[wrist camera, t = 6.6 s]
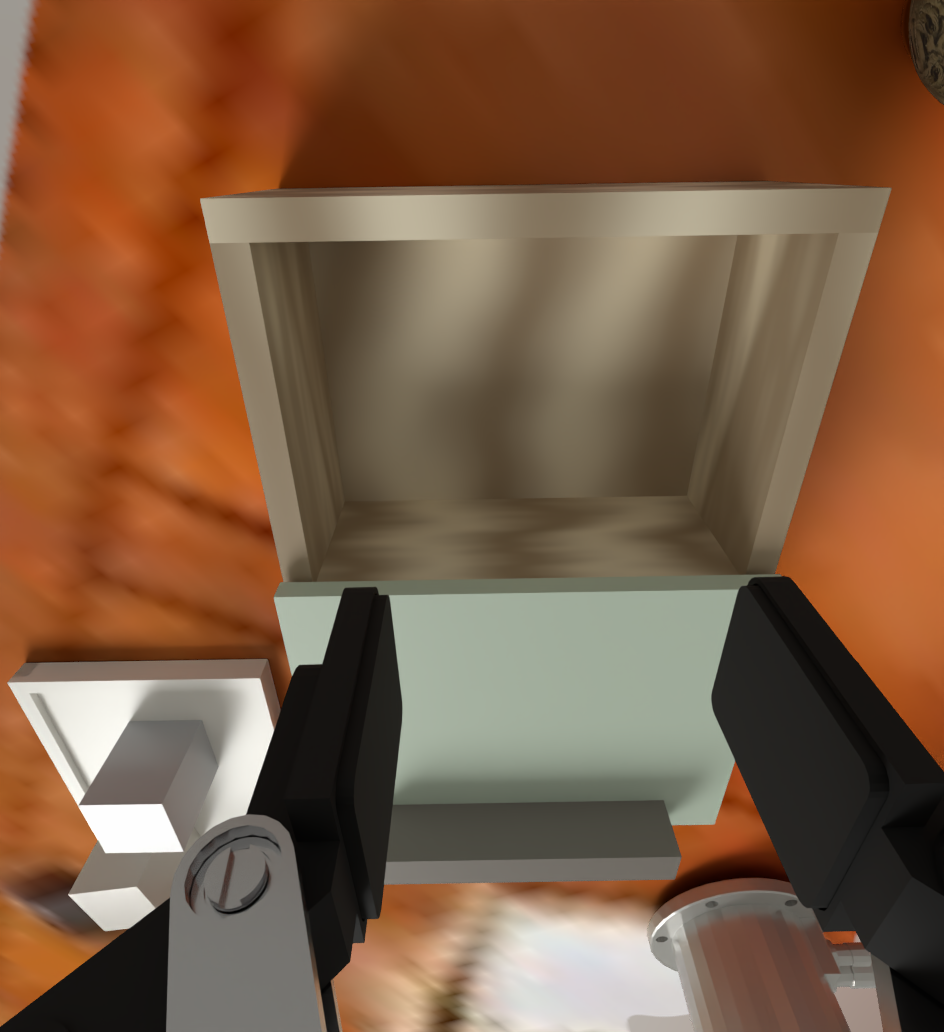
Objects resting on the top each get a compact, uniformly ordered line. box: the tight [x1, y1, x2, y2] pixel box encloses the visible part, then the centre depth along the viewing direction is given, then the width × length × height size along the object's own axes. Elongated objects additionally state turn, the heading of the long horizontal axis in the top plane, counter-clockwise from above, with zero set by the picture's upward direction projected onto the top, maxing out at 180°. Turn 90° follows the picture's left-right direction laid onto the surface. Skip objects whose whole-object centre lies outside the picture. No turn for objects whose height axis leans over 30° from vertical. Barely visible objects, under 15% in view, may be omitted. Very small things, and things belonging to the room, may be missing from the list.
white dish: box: [7, 659, 281, 838], centre depth 36 cm, size 13×17×1 cm
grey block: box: [78, 720, 219, 853], centre depth 32 cm, size 4×4×5 cm
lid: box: [274, 574, 781, 884], centre depth 22 cm, size 17×13×3 cm
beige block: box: [68, 828, 201, 931], centre depth 35 cm, size 4×4×5 cm
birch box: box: [200, 181, 892, 582], centre depth 21 cm, size 17×13×7 cm
